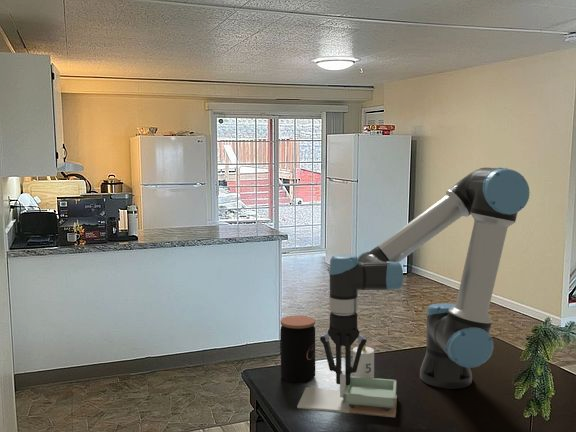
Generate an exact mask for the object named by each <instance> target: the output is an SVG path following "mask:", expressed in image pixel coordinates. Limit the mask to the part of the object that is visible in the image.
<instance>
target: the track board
mask: <svg viewBox="0 0 576 432" xmlns="http://www.w3.org/2000/svg"><path fill="white" fill-rule="evenodd" d="M397 399H398V395H397V394H396V401H395V408H390V410H389V411H385V410H384V409H383V407H376V406H365V405H356V406H355V407H354V408H351V407H350V406H349V404H344V403H343V398H342V397H340V389H330V388H321V387H319V388H318V387H308V386H306V387H305V388H304V390H303V393H302V396H301V397H300V400H299V401H298V403H297V409H305V410H313V411H314V410H315V411H326V412H334V413H345V414H354V415H365V416H375V417H377V416H378V417H386V418H396V415H397V405H398V404H397V401H398V400H397Z"/></svg>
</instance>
